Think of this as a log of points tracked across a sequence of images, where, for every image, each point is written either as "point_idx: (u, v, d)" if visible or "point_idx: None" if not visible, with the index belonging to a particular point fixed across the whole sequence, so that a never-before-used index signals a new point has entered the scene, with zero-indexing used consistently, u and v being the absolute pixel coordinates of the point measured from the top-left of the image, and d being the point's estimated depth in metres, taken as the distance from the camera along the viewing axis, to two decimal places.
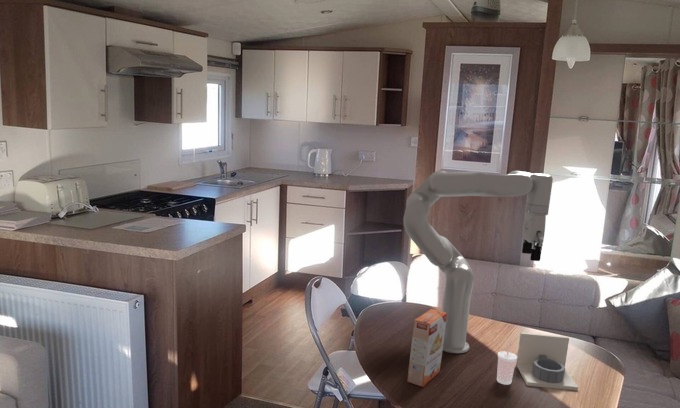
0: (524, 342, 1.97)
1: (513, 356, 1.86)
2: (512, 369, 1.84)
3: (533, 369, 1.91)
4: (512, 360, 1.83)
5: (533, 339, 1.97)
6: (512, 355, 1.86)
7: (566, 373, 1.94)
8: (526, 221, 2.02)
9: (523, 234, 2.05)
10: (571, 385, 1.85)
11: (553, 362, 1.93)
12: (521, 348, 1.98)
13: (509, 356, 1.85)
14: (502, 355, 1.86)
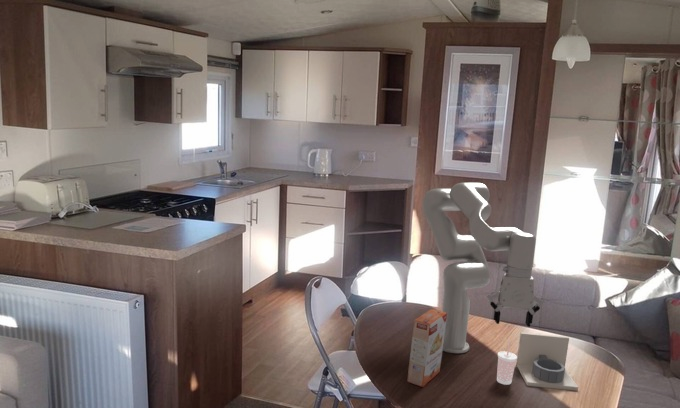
0: (524, 342, 1.97)
1: (513, 356, 1.86)
2: (512, 369, 1.84)
3: (533, 369, 1.91)
4: (512, 360, 1.83)
5: (533, 339, 1.97)
6: (512, 355, 1.86)
7: (566, 373, 1.94)
8: (516, 288, 1.79)
9: (509, 303, 1.80)
10: (571, 385, 1.85)
11: (553, 362, 1.93)
12: (521, 348, 1.98)
13: (509, 356, 1.85)
14: (502, 355, 1.86)
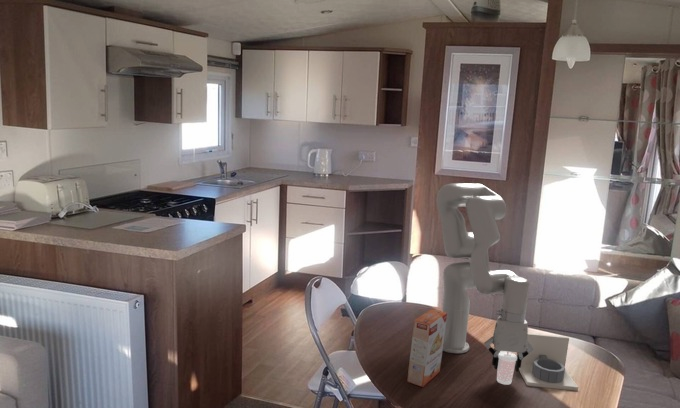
0: None
1: (513, 356, 1.86)
2: (512, 369, 1.84)
3: (533, 369, 1.91)
4: (512, 360, 1.83)
5: (533, 339, 1.97)
6: (512, 355, 1.86)
7: (566, 373, 1.94)
8: (510, 332, 1.82)
9: (503, 347, 1.83)
10: (571, 385, 1.85)
11: (553, 362, 1.93)
12: None
13: (509, 356, 1.85)
14: (502, 355, 1.86)
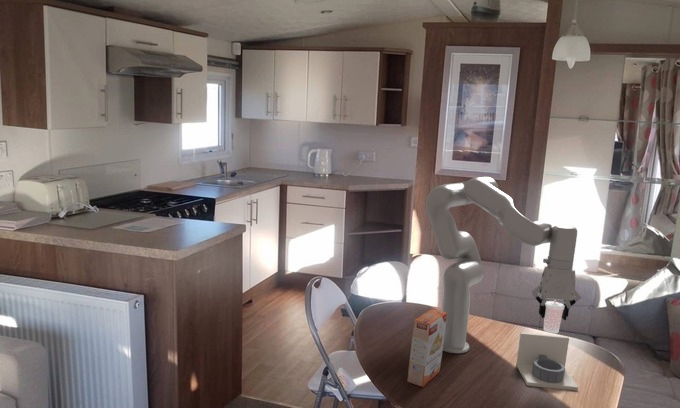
0: (524, 342, 1.97)
1: (560, 305, 1.86)
2: (559, 318, 1.84)
3: (533, 369, 1.91)
4: (560, 308, 1.83)
5: (533, 339, 1.97)
6: (559, 304, 1.86)
7: (566, 373, 1.94)
8: (557, 280, 1.82)
9: (551, 295, 1.83)
10: (571, 385, 1.85)
11: (553, 362, 1.93)
12: (521, 348, 1.98)
13: (556, 305, 1.85)
14: (549, 304, 1.86)
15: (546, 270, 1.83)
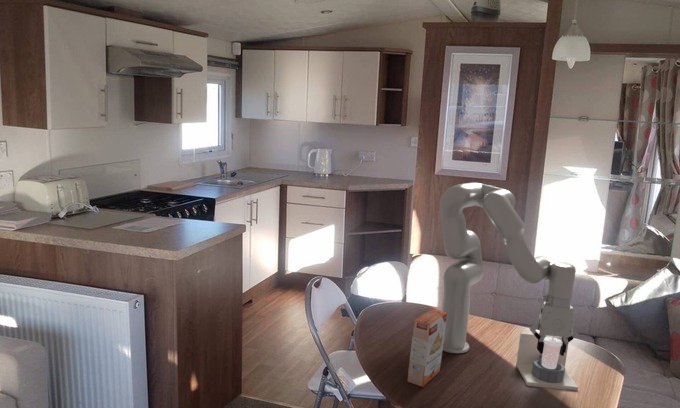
0: (524, 342, 1.97)
1: (558, 341, 1.88)
2: (557, 354, 1.87)
3: (533, 369, 1.91)
4: (558, 345, 1.86)
5: (533, 339, 1.97)
6: (557, 340, 1.89)
7: (566, 373, 1.94)
8: (556, 317, 1.84)
9: (549, 332, 1.85)
10: (571, 385, 1.85)
11: None
12: (521, 348, 1.98)
13: (554, 341, 1.88)
14: (547, 340, 1.88)
15: (545, 307, 1.85)
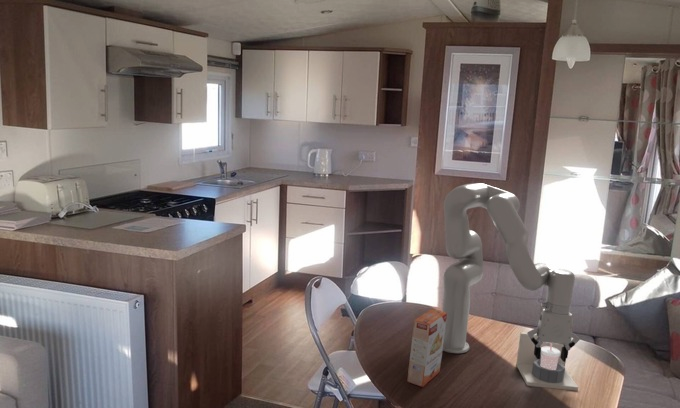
0: (524, 342, 1.97)
1: (556, 351, 1.89)
2: (555, 364, 1.88)
3: (533, 369, 1.91)
4: (556, 355, 1.86)
5: None
6: (555, 350, 1.89)
7: (566, 373, 1.94)
8: (555, 324, 1.85)
9: (548, 338, 1.86)
10: (571, 385, 1.85)
11: None
12: (521, 348, 1.98)
13: (552, 351, 1.88)
14: (545, 350, 1.89)
15: (544, 314, 1.86)
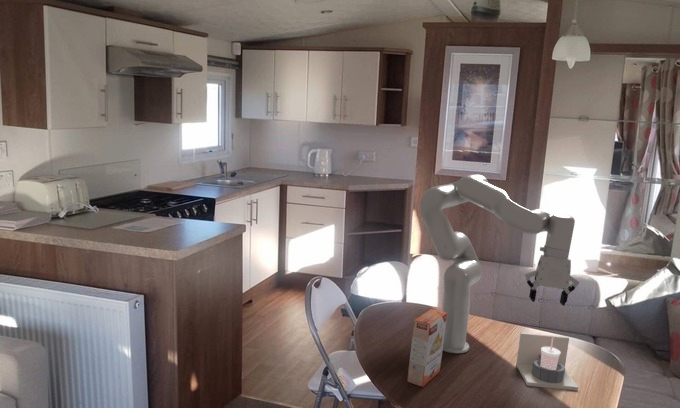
0: (524, 342, 1.97)
1: (556, 351, 1.89)
2: (555, 364, 1.88)
3: (533, 369, 1.91)
4: (556, 355, 1.86)
5: (533, 339, 1.97)
6: (555, 350, 1.90)
7: (566, 373, 1.94)
8: (553, 268, 1.85)
9: (546, 282, 1.86)
10: (571, 385, 1.85)
11: None
12: (521, 348, 1.98)
13: (552, 351, 1.88)
14: (545, 350, 1.89)
15: (542, 258, 1.86)
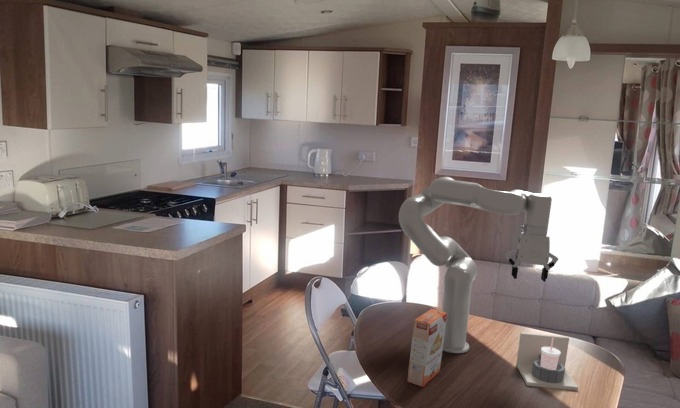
0: (524, 342, 1.97)
1: (556, 351, 1.89)
2: (555, 364, 1.88)
3: (533, 369, 1.91)
4: (556, 355, 1.87)
5: (533, 339, 1.97)
6: (555, 350, 1.90)
7: (566, 373, 1.94)
8: (533, 245, 1.93)
9: (526, 259, 1.94)
10: (571, 385, 1.85)
11: None
12: (521, 348, 1.98)
13: (553, 351, 1.88)
14: (546, 350, 1.89)
15: (522, 236, 1.94)
